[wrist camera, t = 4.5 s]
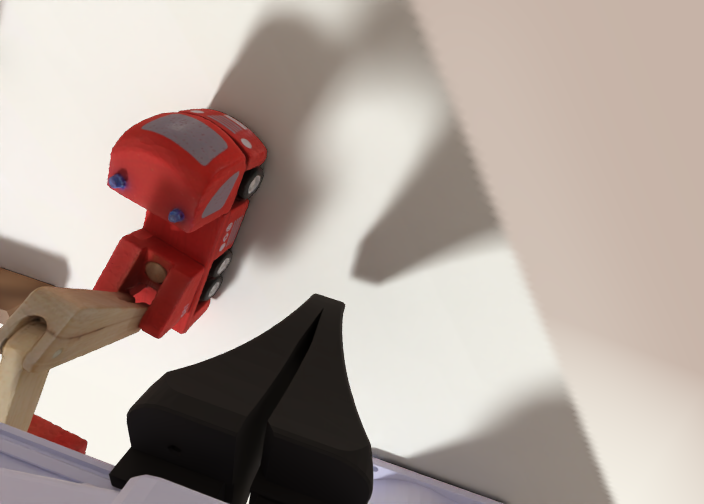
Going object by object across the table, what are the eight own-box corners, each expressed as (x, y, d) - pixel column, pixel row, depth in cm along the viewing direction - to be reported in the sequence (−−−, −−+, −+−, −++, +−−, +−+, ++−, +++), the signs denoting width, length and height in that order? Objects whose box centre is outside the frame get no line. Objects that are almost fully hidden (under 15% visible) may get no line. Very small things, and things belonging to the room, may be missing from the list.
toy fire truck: (281, 139, 13) (-10, 245, 4) (196, 347, 19) (17, 548, 11) (205, 92, 13) (-255, 107, 4) (146, 319, 19) (-75, 502, 11)
